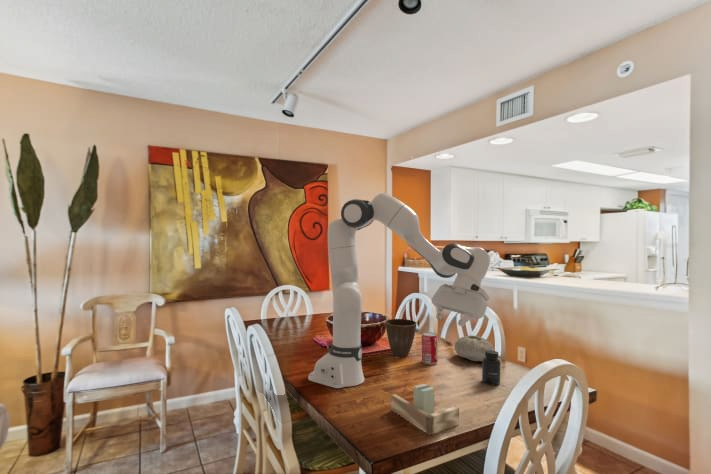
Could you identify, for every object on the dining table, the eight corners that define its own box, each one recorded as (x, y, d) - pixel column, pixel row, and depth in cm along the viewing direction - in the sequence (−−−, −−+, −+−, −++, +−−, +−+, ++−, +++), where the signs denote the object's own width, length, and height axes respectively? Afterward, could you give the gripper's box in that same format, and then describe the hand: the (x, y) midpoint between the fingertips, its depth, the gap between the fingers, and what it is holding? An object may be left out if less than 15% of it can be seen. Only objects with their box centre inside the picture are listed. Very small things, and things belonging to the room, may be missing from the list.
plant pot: (416, 351, 185) (416, 319, 185) (416, 361, 170) (416, 326, 170) (386, 349, 187) (386, 318, 187) (383, 359, 173) (383, 324, 173)
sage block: (424, 411, 120) (424, 383, 120) (434, 417, 116) (434, 387, 116) (413, 414, 118) (413, 385, 118) (423, 420, 114) (423, 390, 114)
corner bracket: (419, 401, 128) (419, 387, 128) (459, 424, 112) (459, 407, 112) (391, 410, 121) (391, 395, 121) (429, 435, 106) (429, 417, 106)
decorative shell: (502, 360, 172) (502, 339, 172) (478, 368, 162) (478, 345, 162) (470, 350, 186) (470, 331, 186) (446, 357, 176) (446, 336, 176)
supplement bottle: (491, 387, 141) (491, 355, 141) (478, 380, 147) (478, 350, 147) (504, 383, 144) (504, 353, 144) (490, 377, 150) (490, 348, 150)
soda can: (437, 365, 164) (437, 336, 164) (421, 364, 165) (421, 335, 165) (437, 360, 171) (437, 332, 171) (421, 359, 172) (421, 331, 172)
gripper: (437, 278, 140) (421, 310, 135) (486, 289, 124) (470, 325, 120) (445, 287, 143) (430, 318, 139) (494, 298, 128) (478, 334, 123)
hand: (449, 322), depth 129 cm, fingers open, 8 cm apart
